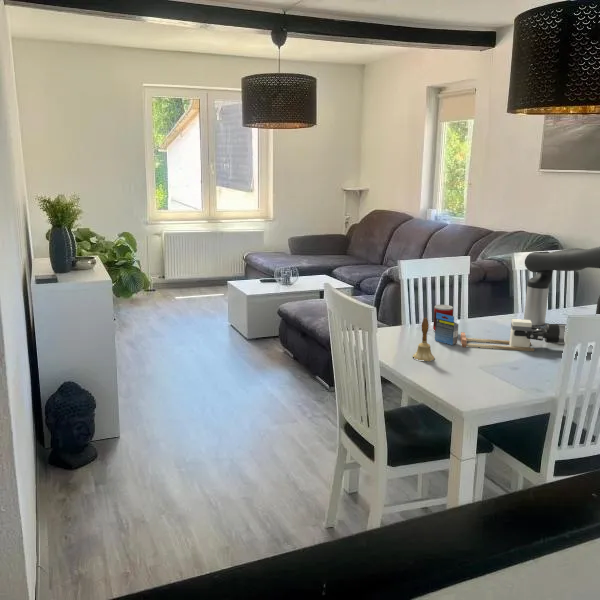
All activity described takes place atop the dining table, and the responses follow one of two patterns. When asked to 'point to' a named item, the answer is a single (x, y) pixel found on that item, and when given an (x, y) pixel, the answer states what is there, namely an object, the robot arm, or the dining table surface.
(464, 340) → the wooden rail channel
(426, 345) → the hand bell
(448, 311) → the canned food
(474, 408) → the dining table surface
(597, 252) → the robot arm
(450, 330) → the label tape cartridge
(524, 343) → the block
